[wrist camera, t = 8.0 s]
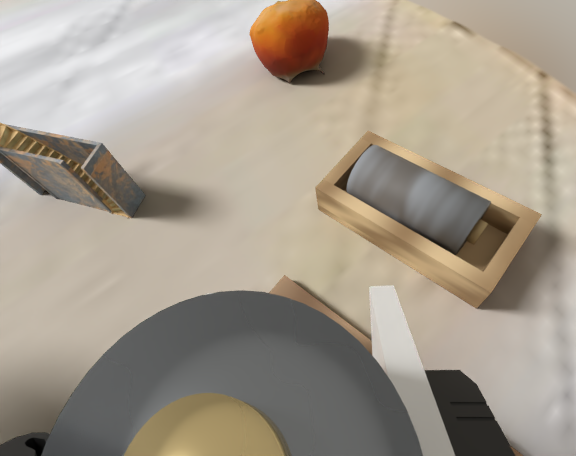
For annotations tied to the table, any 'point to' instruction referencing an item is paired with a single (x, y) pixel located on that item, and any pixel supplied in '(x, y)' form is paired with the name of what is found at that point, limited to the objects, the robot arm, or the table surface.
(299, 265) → the table surface
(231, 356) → the cell
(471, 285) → the trough
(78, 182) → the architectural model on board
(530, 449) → the table surface
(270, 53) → the fruit
